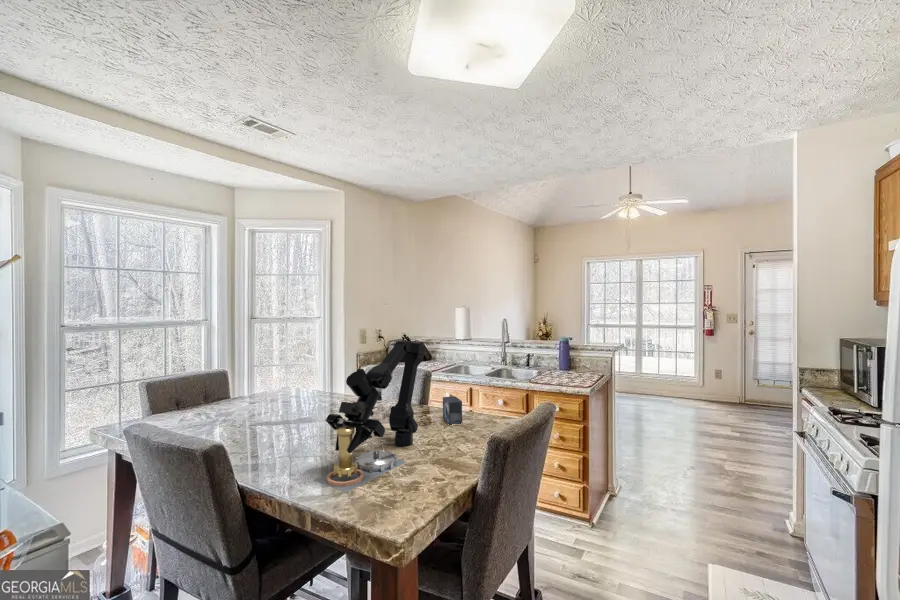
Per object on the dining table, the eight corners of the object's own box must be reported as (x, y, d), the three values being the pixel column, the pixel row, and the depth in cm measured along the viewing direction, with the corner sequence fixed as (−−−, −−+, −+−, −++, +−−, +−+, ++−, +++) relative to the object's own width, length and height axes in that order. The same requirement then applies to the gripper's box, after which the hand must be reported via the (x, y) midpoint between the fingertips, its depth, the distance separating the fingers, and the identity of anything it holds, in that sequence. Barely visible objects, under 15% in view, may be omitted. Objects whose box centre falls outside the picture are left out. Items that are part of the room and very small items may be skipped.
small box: (441, 419, 189) (441, 396, 189) (455, 418, 191) (455, 395, 191) (448, 426, 179) (448, 402, 179) (462, 425, 181) (462, 400, 181)
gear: (375, 453, 142) (375, 442, 142) (405, 461, 135) (405, 449, 135) (345, 466, 131) (345, 453, 131) (377, 476, 124) (377, 462, 124)
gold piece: (352, 465, 127) (352, 423, 127) (360, 473, 121) (360, 429, 121) (330, 470, 123) (330, 426, 123) (337, 479, 117) (337, 433, 117)
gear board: (375, 457, 143) (375, 450, 143) (407, 466, 135) (407, 458, 135) (313, 485, 121) (313, 476, 121) (346, 497, 113) (346, 488, 113)
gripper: (329, 387, 130) (303, 433, 120) (379, 393, 122) (356, 442, 112) (345, 407, 137) (322, 451, 127) (394, 413, 129) (373, 461, 119)
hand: (342, 451), depth 121 cm, fingers closed on gold piece, 4 cm apart
